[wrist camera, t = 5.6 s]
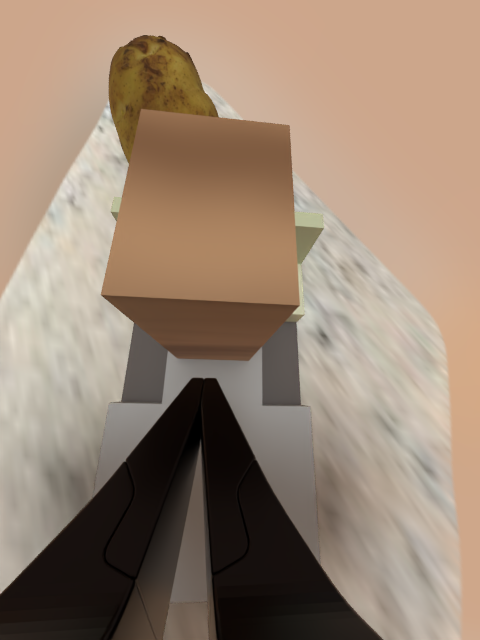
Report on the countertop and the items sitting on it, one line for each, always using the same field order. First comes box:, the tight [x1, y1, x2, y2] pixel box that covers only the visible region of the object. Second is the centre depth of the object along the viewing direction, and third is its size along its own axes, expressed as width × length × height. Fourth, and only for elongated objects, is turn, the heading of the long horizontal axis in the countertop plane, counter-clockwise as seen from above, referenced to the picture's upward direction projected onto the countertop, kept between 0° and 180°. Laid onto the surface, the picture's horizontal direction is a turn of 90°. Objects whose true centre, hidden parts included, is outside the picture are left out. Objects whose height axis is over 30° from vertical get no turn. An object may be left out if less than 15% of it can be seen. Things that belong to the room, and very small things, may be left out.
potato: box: [109, 35, 218, 163], centre depth 17 cm, size 8×13×8 cm, turn 6°
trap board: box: [92, 197, 324, 603], centre depth 13 cm, size 20×12×6 cm, turn 179°
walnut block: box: [101, 109, 300, 361], centre depth 11 cm, size 6×4×10 cm
